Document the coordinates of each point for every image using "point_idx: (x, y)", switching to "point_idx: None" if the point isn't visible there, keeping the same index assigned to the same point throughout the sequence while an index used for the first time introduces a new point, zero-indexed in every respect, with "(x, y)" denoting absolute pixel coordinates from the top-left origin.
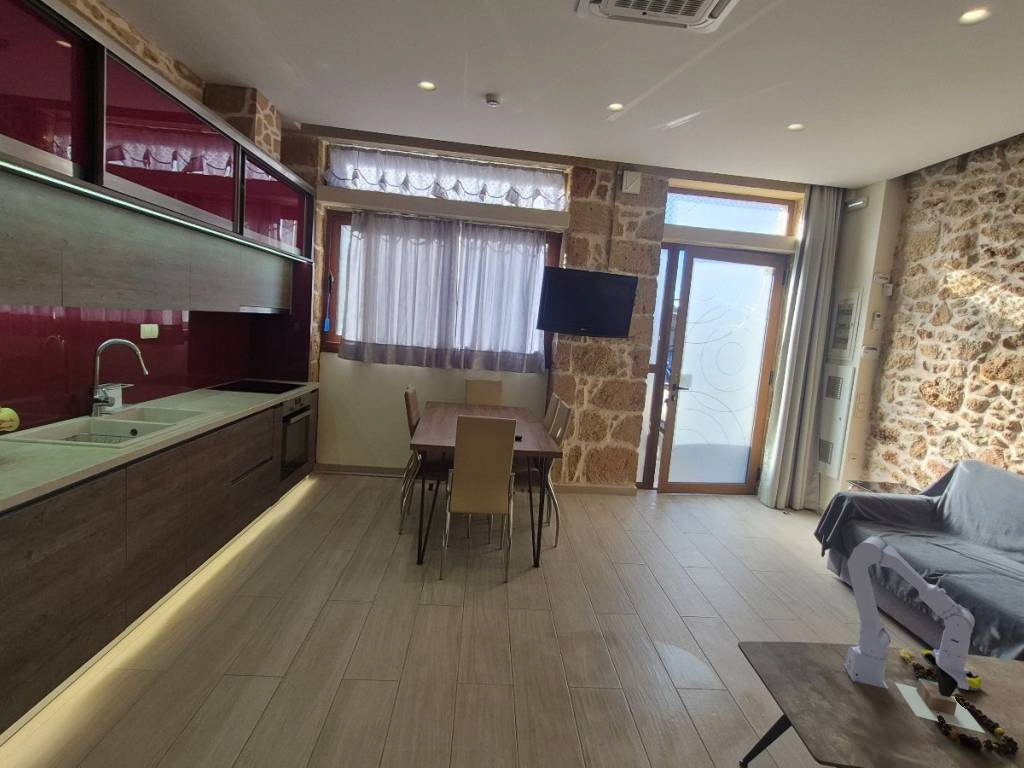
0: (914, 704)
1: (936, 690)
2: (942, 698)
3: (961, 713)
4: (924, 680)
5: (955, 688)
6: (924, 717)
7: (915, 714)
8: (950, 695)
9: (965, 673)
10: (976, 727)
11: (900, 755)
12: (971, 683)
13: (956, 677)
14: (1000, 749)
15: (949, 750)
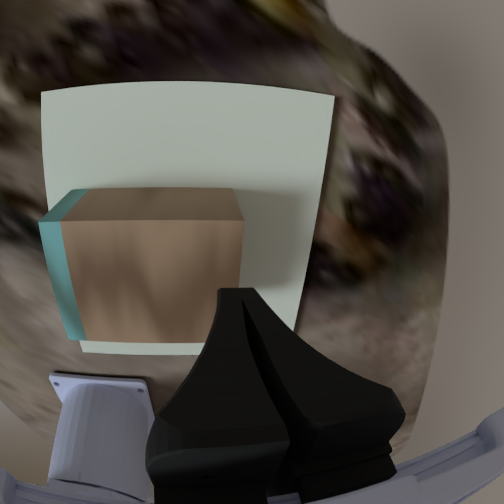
0: None
1: (147, 295)
2: None
3: (195, 134)
4: (68, 316)
5: (301, 343)
6: (292, 328)
7: None
8: (261, 299)
9: (451, 501)
10: (303, 118)
11: (416, 390)
12: None
13: (460, 501)
14: (403, 92)
15: (418, 297)
